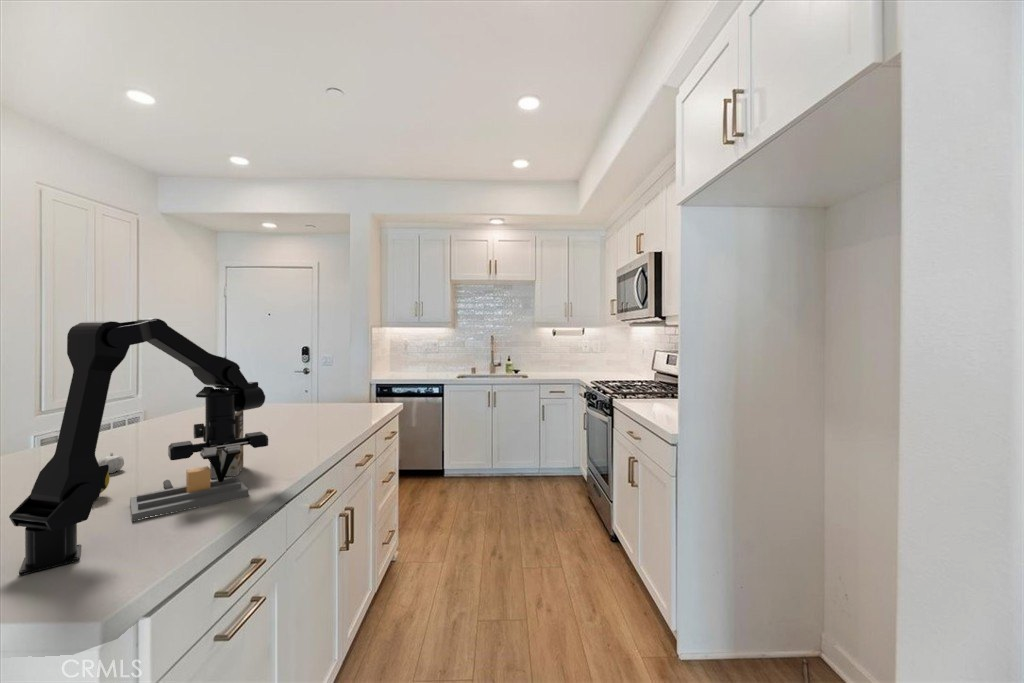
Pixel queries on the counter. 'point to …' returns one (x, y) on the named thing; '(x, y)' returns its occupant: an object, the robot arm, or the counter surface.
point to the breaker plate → (185, 498)
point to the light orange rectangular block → (197, 479)
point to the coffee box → (238, 460)
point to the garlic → (112, 462)
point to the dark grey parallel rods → (167, 484)
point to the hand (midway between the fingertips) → (220, 481)
